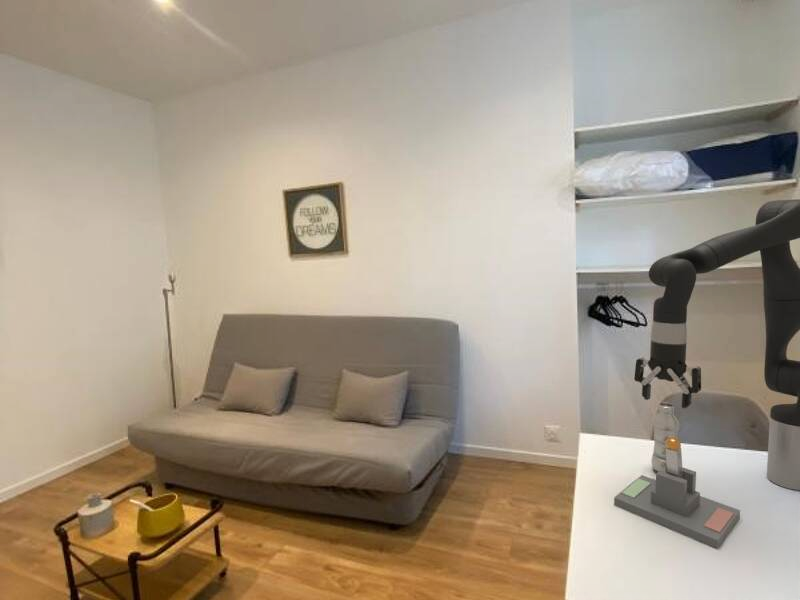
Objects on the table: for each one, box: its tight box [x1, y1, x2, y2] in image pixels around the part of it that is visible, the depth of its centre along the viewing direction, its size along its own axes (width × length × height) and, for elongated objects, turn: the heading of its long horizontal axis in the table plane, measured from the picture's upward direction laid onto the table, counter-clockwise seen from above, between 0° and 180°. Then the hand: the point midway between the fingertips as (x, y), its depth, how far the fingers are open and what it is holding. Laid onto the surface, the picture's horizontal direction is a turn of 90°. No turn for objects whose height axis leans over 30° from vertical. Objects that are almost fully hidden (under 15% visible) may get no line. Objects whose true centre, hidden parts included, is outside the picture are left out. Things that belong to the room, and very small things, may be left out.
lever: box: [665, 437, 683, 479], centre depth 106 cm, size 3×3×13 cm
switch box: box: [613, 465, 741, 550], centre depth 106 cm, size 16×22×10 cm
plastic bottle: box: [651, 402, 680, 473], centre depth 124 cm, size 6×7×20 cm
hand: (665, 403), depth 109 cm, fingers open, 8 cm apart
